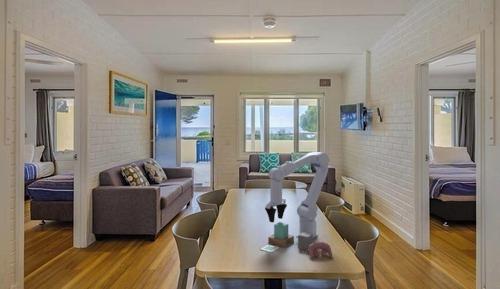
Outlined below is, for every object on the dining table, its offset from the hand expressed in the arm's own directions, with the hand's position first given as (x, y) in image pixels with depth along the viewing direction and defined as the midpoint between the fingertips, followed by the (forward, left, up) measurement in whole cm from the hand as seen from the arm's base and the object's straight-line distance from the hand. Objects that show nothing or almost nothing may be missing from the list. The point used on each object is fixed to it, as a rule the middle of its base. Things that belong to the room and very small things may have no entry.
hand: (276, 220), depth 152 cm
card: (+10, +3, -11) cm, 15 cm away
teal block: (0, +3, -8) cm, 8 cm away
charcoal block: (-2, +15, -11) cm, 18 cm away
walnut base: (0, +3, -11) cm, 11 cm away
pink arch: (+3, +25, -11) cm, 27 cm away
